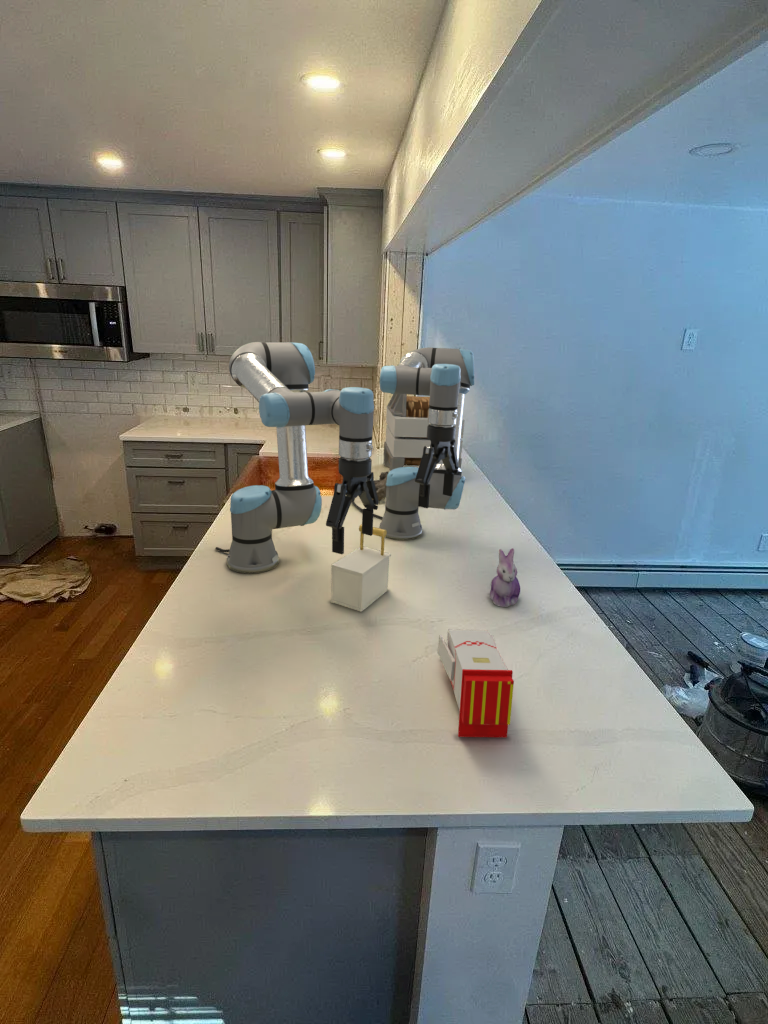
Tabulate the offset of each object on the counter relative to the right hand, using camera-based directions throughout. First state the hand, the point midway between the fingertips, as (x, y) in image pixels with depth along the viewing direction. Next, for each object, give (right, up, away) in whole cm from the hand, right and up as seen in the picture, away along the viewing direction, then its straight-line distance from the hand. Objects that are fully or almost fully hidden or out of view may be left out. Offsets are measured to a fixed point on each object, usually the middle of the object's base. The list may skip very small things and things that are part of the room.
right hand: (435, 501), depth 157 cm
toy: (+4, -41, -38) cm, 56 cm away
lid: (-20, -16, -4) cm, 26 cm away
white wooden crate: (+3, +16, +118) cm, 119 cm away
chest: (-21, -26, -1) cm, 34 cm away
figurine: (+19, -27, 0) cm, 33 cm away
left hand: (-22, -11, -20) cm, 32 cm away
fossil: (-15, +4, +83) cm, 84 cm away
